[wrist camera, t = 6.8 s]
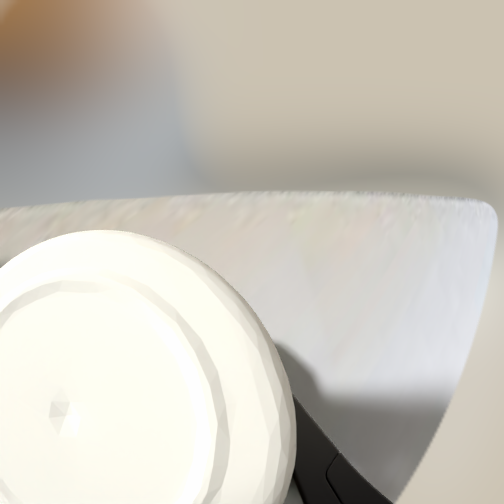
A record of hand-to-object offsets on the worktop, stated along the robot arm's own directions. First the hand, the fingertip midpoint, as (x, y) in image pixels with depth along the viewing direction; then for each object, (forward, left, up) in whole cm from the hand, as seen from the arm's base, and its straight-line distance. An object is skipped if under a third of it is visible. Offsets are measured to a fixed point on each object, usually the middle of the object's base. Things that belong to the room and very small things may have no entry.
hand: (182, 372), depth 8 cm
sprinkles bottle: (-1, -1, -8) cm, 8 cm away
